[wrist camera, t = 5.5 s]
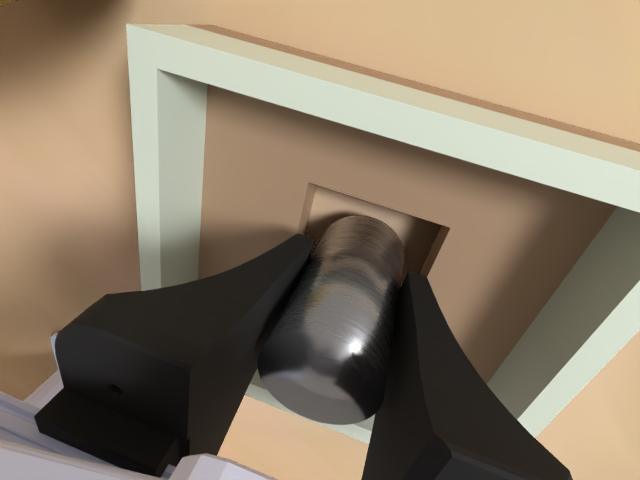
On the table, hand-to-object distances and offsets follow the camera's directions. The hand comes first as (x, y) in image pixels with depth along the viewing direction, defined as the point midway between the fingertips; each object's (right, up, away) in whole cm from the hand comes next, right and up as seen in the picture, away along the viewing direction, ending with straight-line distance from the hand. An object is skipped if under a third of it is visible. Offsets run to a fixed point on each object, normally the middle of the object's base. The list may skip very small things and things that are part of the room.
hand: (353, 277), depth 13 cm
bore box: (+1, +1, +2) cm, 2 cm away
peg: (0, +1, +2) cm, 2 cm away
